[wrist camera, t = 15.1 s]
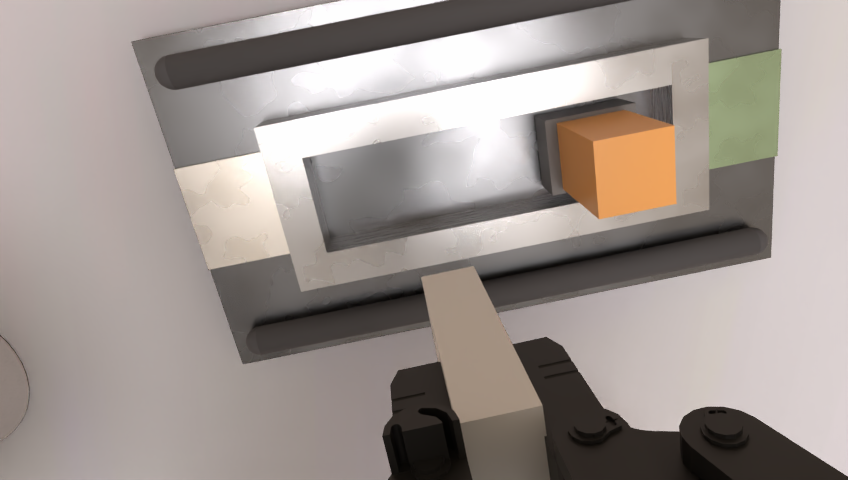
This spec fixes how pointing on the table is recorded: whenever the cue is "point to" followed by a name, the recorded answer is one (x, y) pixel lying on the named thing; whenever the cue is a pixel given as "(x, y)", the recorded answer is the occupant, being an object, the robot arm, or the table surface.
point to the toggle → (608, 157)
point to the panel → (458, 151)
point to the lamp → (11, 390)
